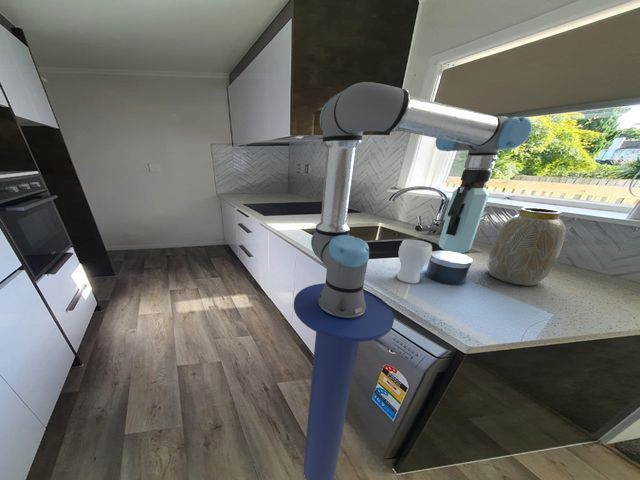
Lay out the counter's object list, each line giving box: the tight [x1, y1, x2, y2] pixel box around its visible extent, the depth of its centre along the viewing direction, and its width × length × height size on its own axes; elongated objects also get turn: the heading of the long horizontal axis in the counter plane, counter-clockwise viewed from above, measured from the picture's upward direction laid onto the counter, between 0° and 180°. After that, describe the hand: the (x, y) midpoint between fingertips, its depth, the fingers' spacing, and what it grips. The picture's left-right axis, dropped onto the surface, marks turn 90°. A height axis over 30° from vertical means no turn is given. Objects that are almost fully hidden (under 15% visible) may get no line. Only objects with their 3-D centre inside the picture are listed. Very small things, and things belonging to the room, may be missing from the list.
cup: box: [396, 239, 433, 284], centre depth 94 cm, size 11×11×15 cm
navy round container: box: [425, 250, 473, 286], centre depth 96 cm, size 13×13×9 cm
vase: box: [486, 207, 567, 287], centre depth 91 cm, size 17×17×27 cm
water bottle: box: [438, 181, 490, 254], centre depth 88 cm, size 10×10×25 cm
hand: (458, 232), depth 90 cm, fingers closed on water bottle, 10 cm apart
